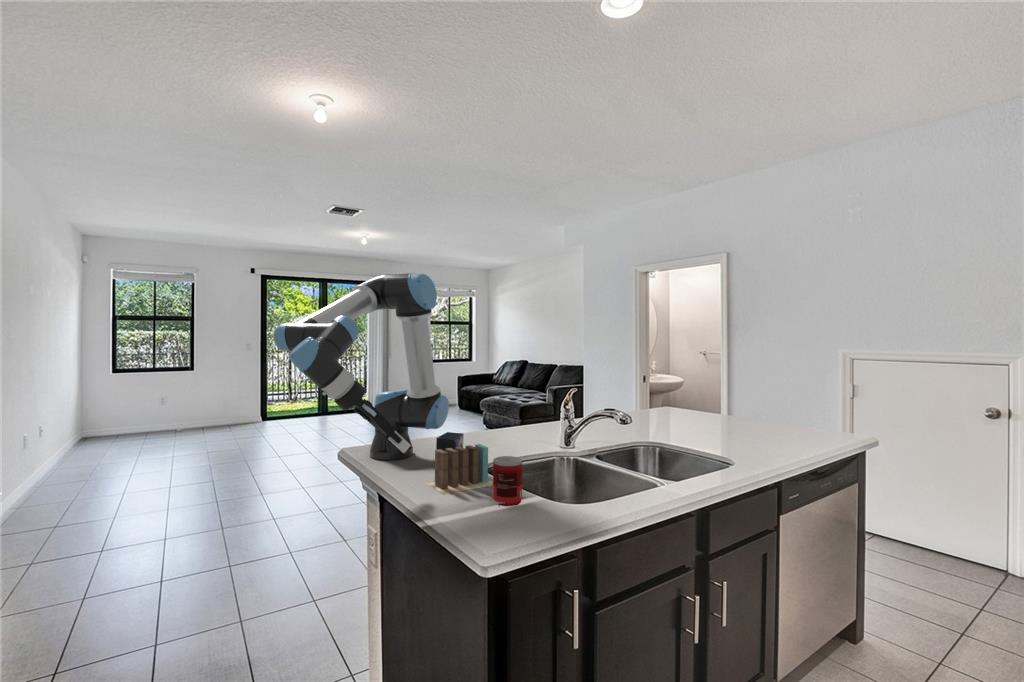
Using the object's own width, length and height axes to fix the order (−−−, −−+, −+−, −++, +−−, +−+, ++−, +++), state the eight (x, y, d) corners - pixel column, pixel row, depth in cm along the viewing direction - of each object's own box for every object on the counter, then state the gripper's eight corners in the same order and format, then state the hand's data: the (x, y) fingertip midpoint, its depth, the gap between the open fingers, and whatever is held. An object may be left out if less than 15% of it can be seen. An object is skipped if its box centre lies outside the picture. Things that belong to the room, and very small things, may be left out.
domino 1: (434, 485, 138) (435, 449, 138) (440, 484, 139) (440, 449, 139) (442, 490, 134) (442, 453, 134) (447, 489, 135) (448, 452, 135)
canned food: (511, 494, 134) (511, 454, 134) (528, 503, 127) (528, 461, 127) (487, 499, 130) (487, 458, 130) (502, 508, 123) (503, 465, 123)
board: (425, 486, 140) (425, 482, 140) (477, 477, 150) (477, 473, 150) (443, 498, 130) (443, 494, 130) (498, 487, 140) (498, 484, 140)
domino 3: (455, 481, 142) (455, 447, 142) (460, 480, 143) (460, 446, 142) (463, 486, 138) (463, 450, 137) (468, 485, 138) (468, 450, 138)
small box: (454, 472, 155) (454, 439, 155) (434, 470, 157) (435, 438, 157) (464, 463, 166) (464, 432, 166) (445, 462, 167) (446, 431, 167)
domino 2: (445, 483, 140) (445, 448, 140) (450, 482, 141) (450, 447, 141) (453, 488, 136) (453, 452, 136) (458, 487, 137) (458, 451, 137)
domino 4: (465, 479, 144) (465, 445, 143) (469, 479, 144) (470, 445, 144) (473, 484, 139) (473, 449, 139) (478, 483, 140) (478, 448, 140)
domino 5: (474, 478, 145) (474, 444, 145) (479, 477, 146) (479, 444, 146) (483, 482, 141) (483, 448, 141) (487, 481, 142) (488, 447, 142)
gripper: (327, 398, 127) (388, 454, 137) (339, 403, 117) (405, 465, 126) (348, 377, 130) (407, 434, 139) (362, 380, 119) (425, 442, 129)
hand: (406, 448), depth 133 cm, fingers closed
